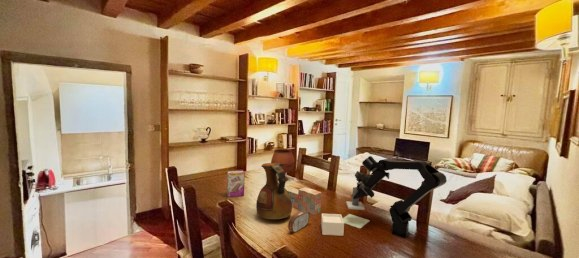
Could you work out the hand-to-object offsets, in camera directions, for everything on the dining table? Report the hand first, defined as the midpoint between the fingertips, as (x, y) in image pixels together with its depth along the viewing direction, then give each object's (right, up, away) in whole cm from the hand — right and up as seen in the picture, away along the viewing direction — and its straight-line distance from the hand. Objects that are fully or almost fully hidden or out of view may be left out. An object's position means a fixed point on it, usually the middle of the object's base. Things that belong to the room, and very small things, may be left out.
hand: (352, 197), depth 137 cm
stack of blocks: (-26, -12, +17) cm, 33 cm away
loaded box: (-13, -14, -9) cm, 21 cm away
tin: (-29, -14, -9) cm, 33 cm away
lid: (+1, -5, 0) cm, 5 cm away
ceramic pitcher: (-43, -12, +5) cm, 45 cm away
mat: (+1, -13, +1) cm, 14 cm away
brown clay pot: (-40, -6, +74) cm, 84 cm away
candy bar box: (-70, -9, +35) cm, 79 cm away
